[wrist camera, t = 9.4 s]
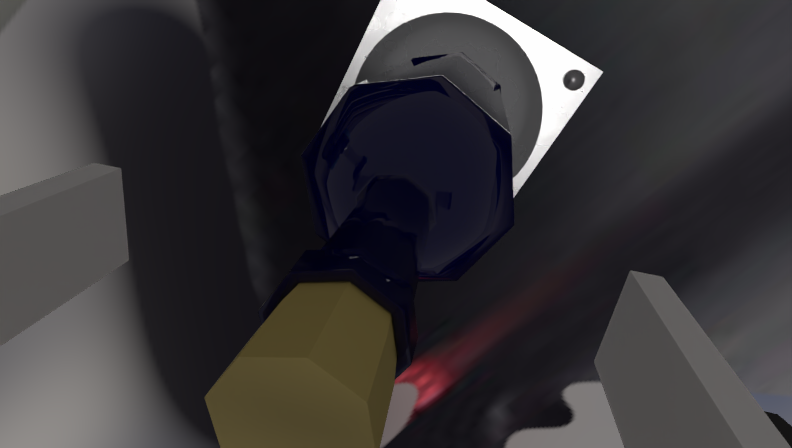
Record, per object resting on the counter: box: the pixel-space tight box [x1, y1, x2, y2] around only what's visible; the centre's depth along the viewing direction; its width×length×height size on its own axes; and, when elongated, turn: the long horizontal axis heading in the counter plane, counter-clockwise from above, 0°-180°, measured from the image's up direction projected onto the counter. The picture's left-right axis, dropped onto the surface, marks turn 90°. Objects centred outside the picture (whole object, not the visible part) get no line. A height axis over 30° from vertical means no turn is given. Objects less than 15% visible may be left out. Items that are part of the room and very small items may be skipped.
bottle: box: [205, 52, 514, 448], centre depth 21 cm, size 9×9×30 cm
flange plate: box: [322, 0, 603, 198], centre depth 36 cm, size 16×16×2 cm
